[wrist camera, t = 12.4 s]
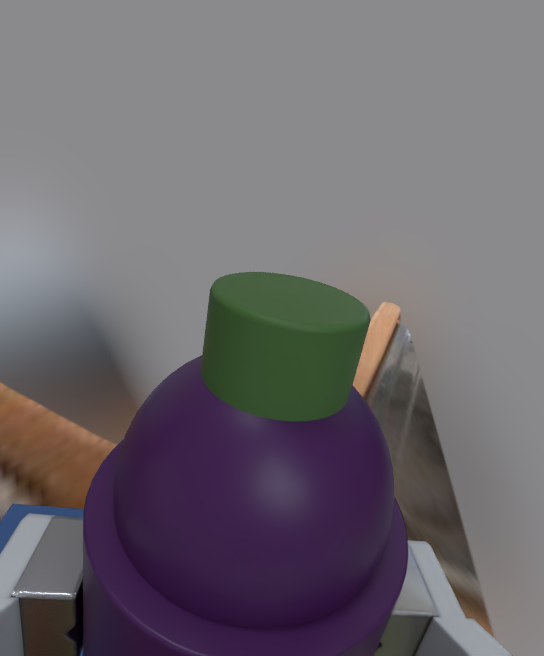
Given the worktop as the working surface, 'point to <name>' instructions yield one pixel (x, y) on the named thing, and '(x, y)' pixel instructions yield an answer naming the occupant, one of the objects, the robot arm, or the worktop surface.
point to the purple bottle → (249, 492)
